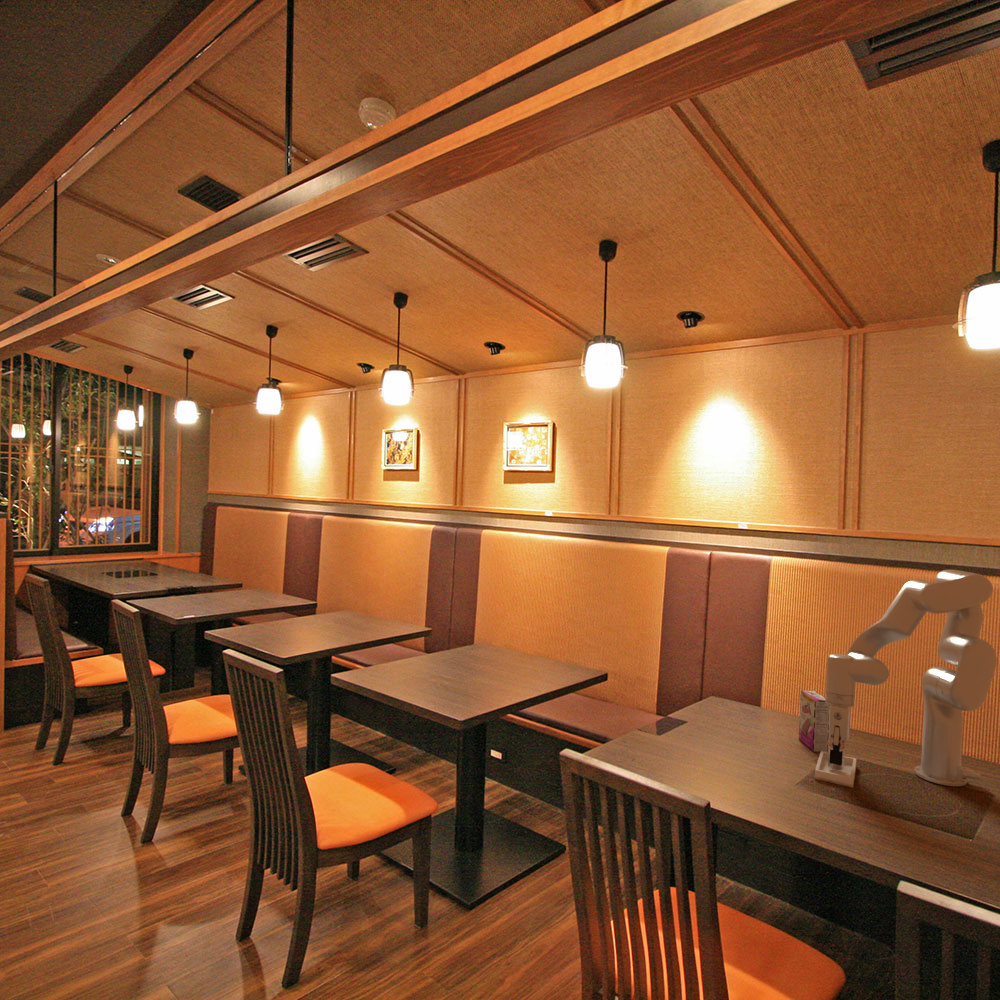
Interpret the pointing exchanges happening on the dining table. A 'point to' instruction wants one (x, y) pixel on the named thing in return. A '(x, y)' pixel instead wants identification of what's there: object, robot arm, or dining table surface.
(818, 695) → the candy bar box
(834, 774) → the white rectangular tray
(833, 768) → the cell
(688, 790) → the dining table surface
